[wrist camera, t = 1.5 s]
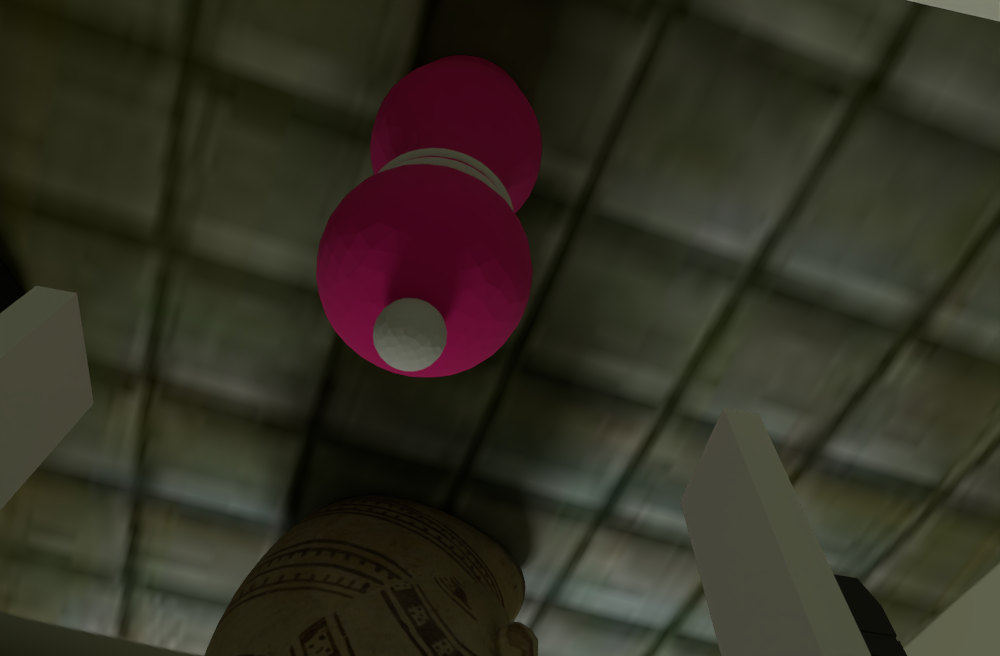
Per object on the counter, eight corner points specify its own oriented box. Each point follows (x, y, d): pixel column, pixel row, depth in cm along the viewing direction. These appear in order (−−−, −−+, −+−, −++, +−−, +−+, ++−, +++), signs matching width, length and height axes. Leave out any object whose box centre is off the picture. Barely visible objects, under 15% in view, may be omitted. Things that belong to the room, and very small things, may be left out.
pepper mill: (428, 11, 30) (311, 142, 13) (567, 92, 32) (625, 302, 15) (365, 152, 34) (208, 402, 17) (494, 218, 35) (472, 507, 18)
